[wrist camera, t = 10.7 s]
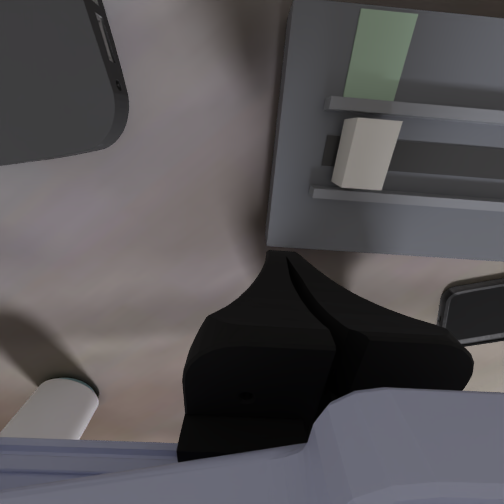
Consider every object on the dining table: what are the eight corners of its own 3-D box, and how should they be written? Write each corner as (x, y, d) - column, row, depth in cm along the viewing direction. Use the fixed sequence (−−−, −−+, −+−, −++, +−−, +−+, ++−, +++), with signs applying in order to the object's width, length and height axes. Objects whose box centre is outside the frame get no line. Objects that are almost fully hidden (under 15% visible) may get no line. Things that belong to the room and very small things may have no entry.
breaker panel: (510, 250, 21) (557, 271, 18) (265, 233, 21) (267, 253, 17) (632, 52, 15) (737, 29, 12) (287, 18, 14) (298, -17, 11)
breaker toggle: (366, 183, 16) (381, 190, 14) (331, 181, 16) (341, 187, 14) (383, 122, 14) (402, 121, 13) (344, 119, 14) (357, 117, 12)
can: (38, 369, 28) (-93, 514, 17) (100, 378, 29) (11, 522, 18) (46, 404, 31) (-61, 547, 21) (102, 412, 32) (27, 553, 21)
